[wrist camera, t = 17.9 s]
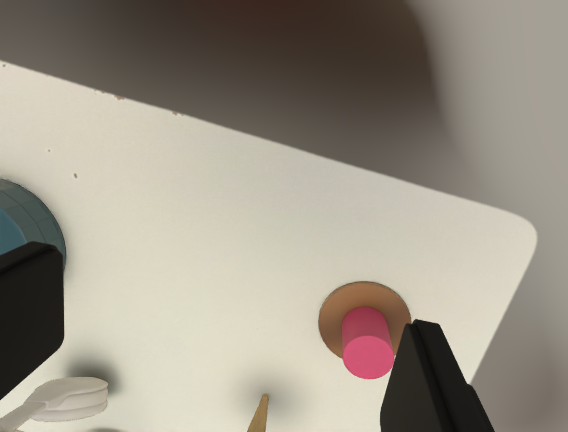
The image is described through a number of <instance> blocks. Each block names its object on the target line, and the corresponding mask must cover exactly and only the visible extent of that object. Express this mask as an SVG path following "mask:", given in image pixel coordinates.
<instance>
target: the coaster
mask: <svg viewBox="0 0 568 432" xmlns="http://www.w3.org/2000/svg"><path fill="white" fill-rule="evenodd" d="M359 307H370V308H373V309H375V310H377V311H379V312H380V313H381V314H382V315H383V316H384V317H385V319H386V321H387V325H388V330H389V334H390V339H391V343H392V348H393V352H394V356H395V355H396V354H397V350H398V347H399V343H400V340H401V336H402V333H403V329H404V326H405V324H406V323H409V324H411V317H410V313H409V311H408V308H407V306H406V304H405V303H404V301H403V300H402V299H401V297H400V296H398V295H397V294H396V293H395V292H394V291H392V290H391V289H389V288H387V287H385V286H383V285H380V284H377V283H372V282H355V283H351V284H347V285H345V286H342V287H340V288H338V289H337V290H335V291H334V292H333V293H332V294H331V295H329V297H328V298H327V299H326V300H325V302H324V303H323V305H322V308H321V310H320V314H319V331H320V334H321V337H322V339H323V341H324V343H325V344H326V346H327V347H328V348H329V349H330V350H331V351H332V352H333V353H334V354H336V355H337V356H338V357H340V358H342V359H343V351H342V322H343V319H344V317H345V316H346V315H347V313H349V312H350V311H351V310H353V309H355V308H359Z"/></svg>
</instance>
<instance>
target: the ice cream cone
mask: <svg viewBox="0 0 568 432" xmlns="http://www.w3.org/2000/svg"><path fill="white" fill-rule="evenodd" d="M268 401H269V398H268V395H266V394H265V395H263V397H262V399H261V401H260V404H259V406H258V408H257V410H256V412H255V415H254V417H253V419H252V421H251V424H250V426H249V428H248V431H247V432H265V431H266V420H267V409H268Z"/></svg>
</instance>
